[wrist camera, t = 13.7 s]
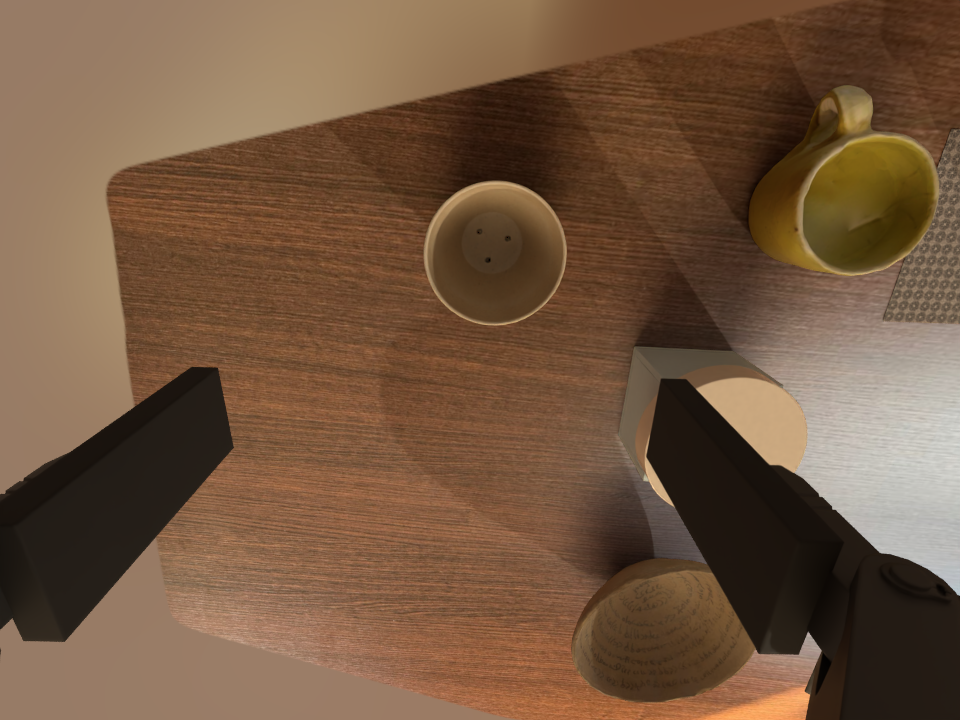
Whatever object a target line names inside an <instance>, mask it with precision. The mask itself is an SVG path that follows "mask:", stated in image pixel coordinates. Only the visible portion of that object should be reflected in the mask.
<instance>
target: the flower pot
mask: <svg viewBox="0 0 960 720" xmlns="http://www.w3.org/2000/svg"><path fill="white" fill-rule="evenodd" d="M477 231H479V232H480V234H478V233H477ZM507 236H509V237H508V238H505V237H507ZM566 256H567V248H566V239H565V235H564V231H563V228H562V225H561V223H560V221H559V219H558V217H557V215H556V214H555V212H554V211H553V209H552V208H551V207H550V205H549V204H548V203H547V202H546V201H545V200H544V199H543V198H542V197H541V196H539V195H538V194H537V193H535V192H534V191H532V190H530V189H528V188H527V187H525V186H522V185H520V184H516V183H513V182H508V181H499V180H494V181H484V182H479V183H475V184H472V185H470V186H467V187H465V188H463V189H461V190H459V191H458V192H456V193H455V194H453V195H452V196H451V197H450V198H449V199H447V200H446V201H445V202H444V203H443V204H442V205H441V207H440V208H439V209H438V210H437V212H436V213H435V215H434V217H433V219H432V220H431V223H430V225H429V227H428V230H427V233H426V237H425V242H424V265H425V270H426V274H427V277H428V280H429V282H430V284H431V287H432V289H433V290H434V292H435V294H436V295H437V297H438V298H439V299H440V300H441V302H442V303H443V304H444V305H445V306H446V307H447V308H449V309H450V310H451V311H452V312H454V313H455V314H457V315H458V316H460V317H462V318H464V319H466V320H469V321H471V322H474V323H479V324H484V325H505V324H510V323H514V322H517V321H520V320H523V319H525V318H527V317H529V316H530V315H532V314H534V313H535V312H536V311H538V310H539V309H540V308H541V307H543V306H544V305H545V304H546V303H547V301H548V300H549V299H550V298H551V297H552V295H553V294H554V292H555V291H556V289H557V287H558V286H559V284H560V281H561V279H562V276H563V273H564V270H565V265H566ZM489 258H490V262H488V259H489Z"/></svg>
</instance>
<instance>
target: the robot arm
mask: <svg viewBox="0 0 960 720" xmlns="http://www.w3.org/2000/svg"><path fill="white" fill-rule="evenodd" d="M233 448H234V447H233V442H232V437H231V432H230V427H229V422H228V417H227V411H226V406H225V401H224V396H223V391H222V386H221V381H220V376H219V371H218V368H212V367H191V368H190V369H188V370H187V371H185V372H184V373H182V374H181V375H180V376H178V377H177V378H175V379H174V380H172V381H171V382H170V383H168V384H167V385H165V386H164V387H162V388H161V389H160V390H158V391H157V392H155V393H154V394H152V395H151V396H150V397H148V398H147V399H145V400H144V401H143V402H141V403H140V404H138V405H137V406H135V407H134V408H133V409H131V410H130V411H128V412H127V413H125V414H124V415H123V416H121V417H120V418H118V419H117V420H116V421H114V422H113V423H111V424H110V425H109V426H107V427H105V428H104V429H103V430H101V431H100V432H98V433H97V434H95V435H94V436H93V437H91V438H90V439H88V440H87V441H86V442H84V443H83V444H81V445H80V446H78V447H77V448H75V449H74V450H73V451H71V452H69V453H67V454H65V455H63V456H61V457H59V458H56V459H54V460H52V461H50V462H48V463H46V464H44V465H42V466H41V467H40V468H38V469H37V470H35V471H34V472H32V473H31V474H29V475H28V476H27V477H25V478H24V481H19V482H18V483H16V484H15V485H13V486H12V487H10V488H9V489H8V490H6V493H5V494H0V629H1V628H3V626H5V625H6V624H7V623H8V622H9V621H10V620H11V619H12V618H13V620H14V622H15V624H16V626H17V629H18V631H19V633H20V635H21V637H22V639H23V641H54V642H57V641H58V642H65V641H66V640H67V638H68V637H69V636H70V635H71V634H72V633H73V632H74V630H75V629H76V628H77V627H78V626H79V625H80V624H81V622H82V621H83V620H84V619H85V618H86V617H87V616H88V614H89V613H90V612H91V611H92V610H93V609H94V607H95V606H96V605H97V604H98V603H99V602H100V601H101V599H102V598H103V597H104V596H105V595H106V594H107V592H108V591H109V590H110V589H111V588H112V587H113V586H114V584H115V583H116V582H117V581H118V580H119V579H120V578H121V576H122V575H123V574H124V573H125V572H126V570H128V568H129V567H130V566H131V565H132V564H133V563H134V562H135V560H136V559H137V558H138V557H139V556H140V555H141V553H142V552H143V551H144V550H145V549H146V548H147V547H148V545H149V544H150V543H151V542H152V541H153V540H154V539H155V537H156V536H157V535H158V534H159V533H160V532H161V530H162V529H163V528H164V527H165V526H166V525H167V524H168V522H169V521H170V520H171V519H172V518H173V517H174V516H175V514H176V513H177V512H178V511H179V510H180V509H181V508H182V506H183V505H184V504H185V503H186V502H187V501H188V499H189V498H190V497H191V496H192V495H193V494H194V493H195V491H196V490H197V489H198V488H199V487H200V486H201V485H202V483H203V482H204V481H205V480H206V479H207V478H208V476H209V475H210V474H211V473H212V472H213V471H214V470H215V468H216V467H217V466H218V465H219V464H220V463H221V462H222V460H223V459H224V458H225V457H226V456H227V455H228V454H229V452H230V451H231V450H232V449H233ZM646 458H647V459H648V461H649V463H650V465H651V466H652V468H653V470H654V472H655V473H656V475H657V477H658V479H659V480H660V482H661V484H662V486H663V487H664V489H665V491H666V493H667V494H668V496H669V498H670V500H671V501H672V503H673V505H674V507H675V508H676V510H677V512H678V514H679V515H680V517H681V519H682V520H683V522H684V524H685V526H686V527H687V529H688V531H689V533H690V534H691V536H692V538H693V540H694V541H695V543H696V545H697V547H698V548H699V550H700V552H701V554H702V555H703V557H704V559H705V561H706V562H707V564H708V566H709V568H710V569H711V571H712V573H713V575H714V576H715V578H716V580H717V582H718V583H719V585H720V587H721V589H722V590H723V592H724V594H725V596H726V597H727V599H728V601H729V603H730V604H731V606H732V608H733V610H734V611H735V613H736V615H737V617H738V618H739V620H740V622H741V624H742V625H743V627H744V629H745V631H746V632H747V634H748V636H749V638H750V639H751V641H752V643H753V645H754V646H755V648H756V650H757V652H758V653H759V654H793V655H799V652H800V650H801V647H802V645H803V643H804V640H805V638H806V635H807V633H808V632H809V633H810V635H811V636H812V637H813V639H814V640H815V642H816V643H817V645H818V646H819V647H820V649H821V650H822V652H821V654H820V656H819V659H818V661H817V663H816V666H815V668H814V670H813V673H812V675H811V677H810V680H809V682H808V684H807V687H806V689H805V692H806V693H808V694H810V699H809V704H808V710H807V715H806V720H960V596H959V595H957V594H956V592H955V591H954V590H953V589H952V588H951V587H950V586H949V585H948V584H947V583H946V582H945V581H944V580H943V579H941V578H940V577H938V576H937V575H935V574H934V573H932V572H931V571H929V570H928V569H926V568H924V567H922V566H920V565H918V564H916V563H914V562H912V561H910V560H907V559H904V558H901V557H898V556H894V555H891V554H882V553H879V552H878V551H877V550H876V549H875V548H874V547H873V546H872V545H871V544H870V543H869V542H868V541H867V540H866V539H865V538H864V537H863V536H862V535H861V534H860V533H859V532H858V531H857V530H856V529H855V528H854V527H853V526H852V525H850V524H849V523H848V522H847V521H846V520H845V519H844V518H843V517H842V516H841V515H840V514H839V513H838V512H837V511H836V510H832V506H831V505H830V504H829V503H828V502H827V501H826V500H825V499H824V498H823V497H819V494H818V493H817V492H816V491H815V490H814V489H813V488H812V487H811V486H810V485H809V484H808V483H807V482H806V481H805V480H804V479H803V478H801V477H800V476H798V475H796V474H795V473H793V472H791V471H790V470H788V469H786V468H785V467H783V466H781V465H769V464H768V463H767V462H766V461H765V460H764V459H763V458H762V457H761V456H760V454H759V453H758V452H757V451H756V450H755V449H754V448H753V447H752V446H751V445H750V444H749V443H748V442H747V441H746V440H745V439H744V438H743V437H742V436H741V435H740V434H739V433H738V432H737V431H736V430H735V429H734V428H733V427H732V426H731V425H730V424H729V422H728V421H727V420H726V419H725V418H724V417H723V416H722V415H721V414H720V413H719V412H718V411H717V410H716V409H715V408H714V407H713V406H712V405H711V404H710V403H709V402H708V401H707V400H706V399H705V398H704V397H703V396H702V395H701V394H700V393H699V392H698V390H697V389H696V388H695V387H694V386H693V385H692V384H691V383H690V382H689V381H688V380H687V379H668V378H661V380H660V385H659V390H658V396H657V401H656V406H655V412H654V417H653V422H652V428H651V433H650V438H649V444H648V449H647V454H646ZM0 652H1V650H0Z"/></svg>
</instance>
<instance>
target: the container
mask: <svg viewBox="0 0 960 720" xmlns="http://www.w3.org/2000/svg"><path fill="white" fill-rule="evenodd" d="M716 365H734V366H741V367H745V368H749V369H752V370H754V371H757V372H759V373H761V374H762V375H764V376H766V377H767V378H769V379H770V380H772V381H773V382H774V383H776V384H777V385H779V386H780V387H782V388H783V385H782V384H781V383H779V382H778V381H776V380H775V379H773V378H772V377H770V376H769V375H768V374H766V373H765V372H763V371H762V370H760V369H759V368H757V367H756V366H755V365H753V364H752V363H750V362H749V361H747V360H746V359H744V358H743V357H741V356H740V355H739V354H737V353H736V352H734V351H719V350H700V349H680V348H660V347H640V346H634V350H633V356H632V361H631V367H630V372H629V378H628V383H627V389H626V394H625V400H624V405H623V411H622V416H621V421H620V427H619V432H618V435H619V437H620V439H621V441H622V443H623V445H624V446H625V448H626V450H627V452H628V454H629V456H630V458H631V460H632V461H633V463H634V465H635V467H636V469H637V471H638V473H639V474H640V476H641V478H642V480H643V481H649V480H648V478H647V477H646V475H645V473H644V471H643V469H642V468H641V466H640V464H639V461H638V458H637V454H636V447H635V439H636V431H637V427H638V424H639V421H640V419H641V416H642V414H643V412H644V411H645V409H646V407H647V406H648V404H649V403H650V402H651V400H652V399H653V398H654V397H655V396H656V395H657V394H658V390H659V385H660V380H661V378H668V379H677V378H679V377H681V376H683V375H685V374H687V373H689V372H692V371H694V370H697V369H701V368H705V367H709V366H716Z"/></svg>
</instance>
